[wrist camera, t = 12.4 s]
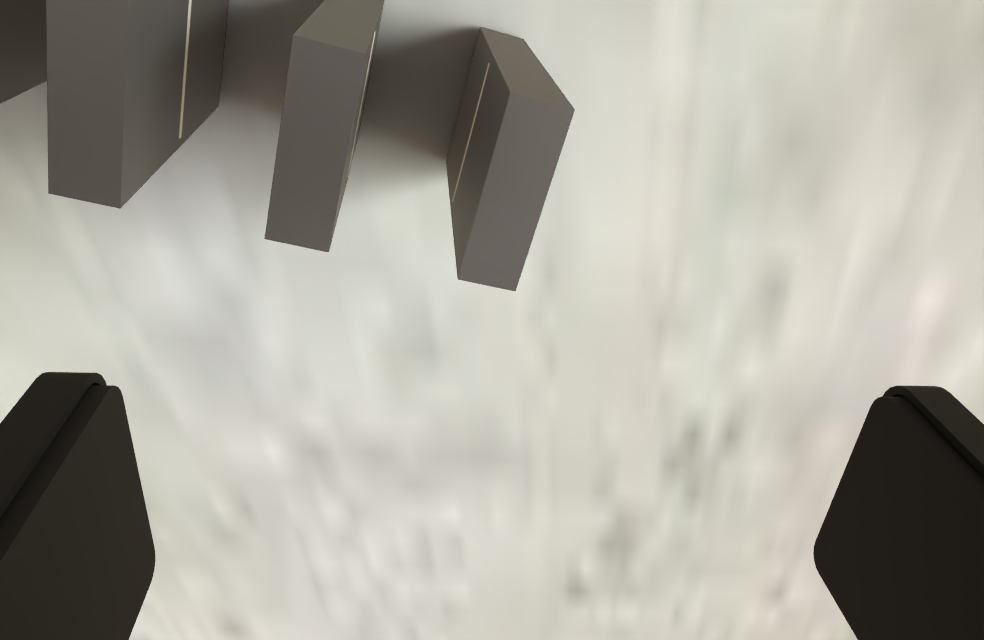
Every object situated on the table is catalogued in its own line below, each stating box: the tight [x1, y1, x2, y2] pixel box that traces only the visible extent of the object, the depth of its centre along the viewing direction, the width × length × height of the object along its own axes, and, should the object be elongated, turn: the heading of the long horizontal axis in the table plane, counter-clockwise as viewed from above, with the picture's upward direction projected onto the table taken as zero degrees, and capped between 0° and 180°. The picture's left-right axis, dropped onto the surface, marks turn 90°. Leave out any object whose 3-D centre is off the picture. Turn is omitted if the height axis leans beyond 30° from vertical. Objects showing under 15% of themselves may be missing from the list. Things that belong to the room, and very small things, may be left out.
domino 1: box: [446, 27, 575, 291], centre depth 23 cm, size 2×5×10 cm, turn 165°
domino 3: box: [46, 0, 229, 208], centre depth 21 cm, size 2×5×10 cm, turn 165°
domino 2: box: [265, 0, 384, 252], centre depth 22 cm, size 2×5×10 cm, turn 165°
